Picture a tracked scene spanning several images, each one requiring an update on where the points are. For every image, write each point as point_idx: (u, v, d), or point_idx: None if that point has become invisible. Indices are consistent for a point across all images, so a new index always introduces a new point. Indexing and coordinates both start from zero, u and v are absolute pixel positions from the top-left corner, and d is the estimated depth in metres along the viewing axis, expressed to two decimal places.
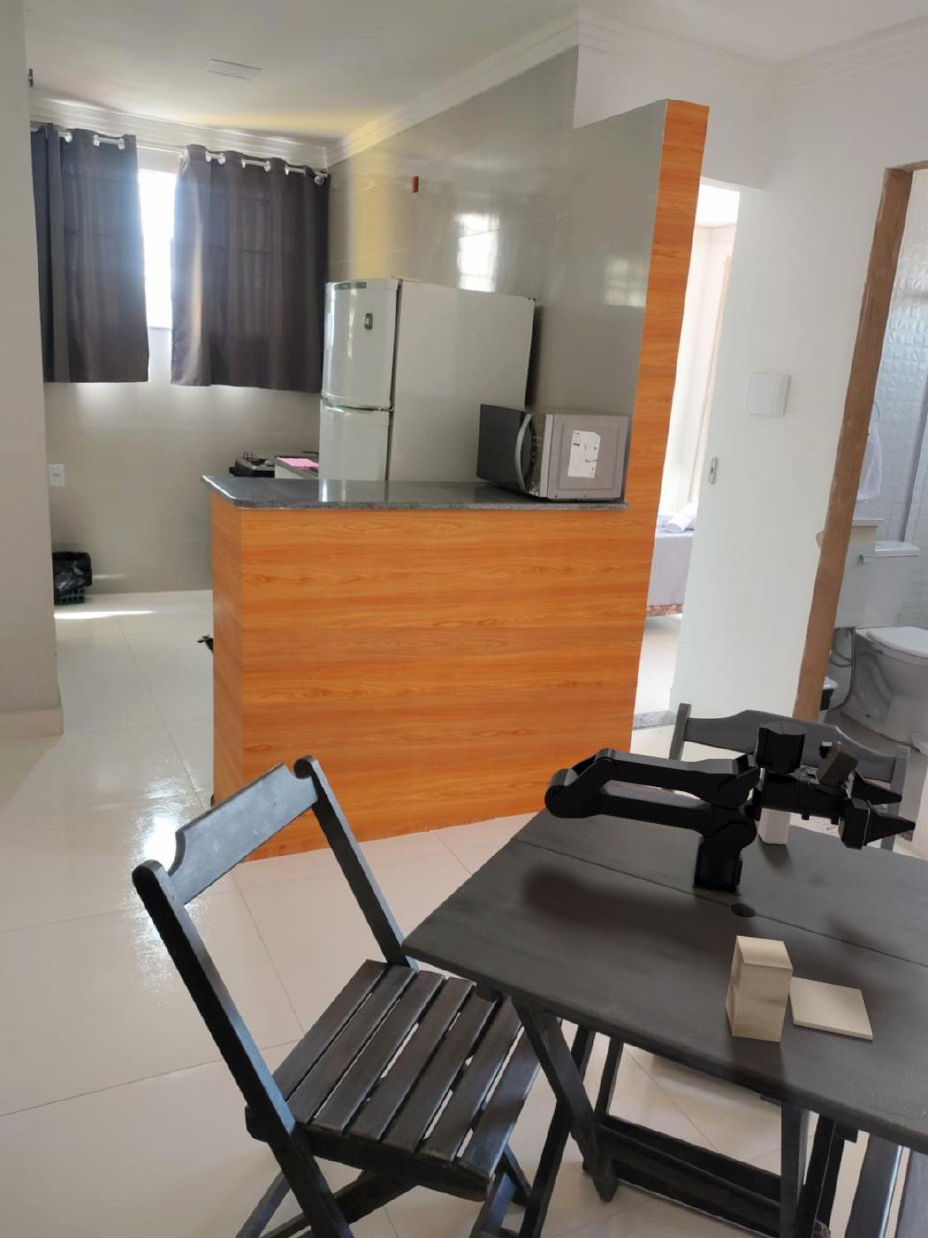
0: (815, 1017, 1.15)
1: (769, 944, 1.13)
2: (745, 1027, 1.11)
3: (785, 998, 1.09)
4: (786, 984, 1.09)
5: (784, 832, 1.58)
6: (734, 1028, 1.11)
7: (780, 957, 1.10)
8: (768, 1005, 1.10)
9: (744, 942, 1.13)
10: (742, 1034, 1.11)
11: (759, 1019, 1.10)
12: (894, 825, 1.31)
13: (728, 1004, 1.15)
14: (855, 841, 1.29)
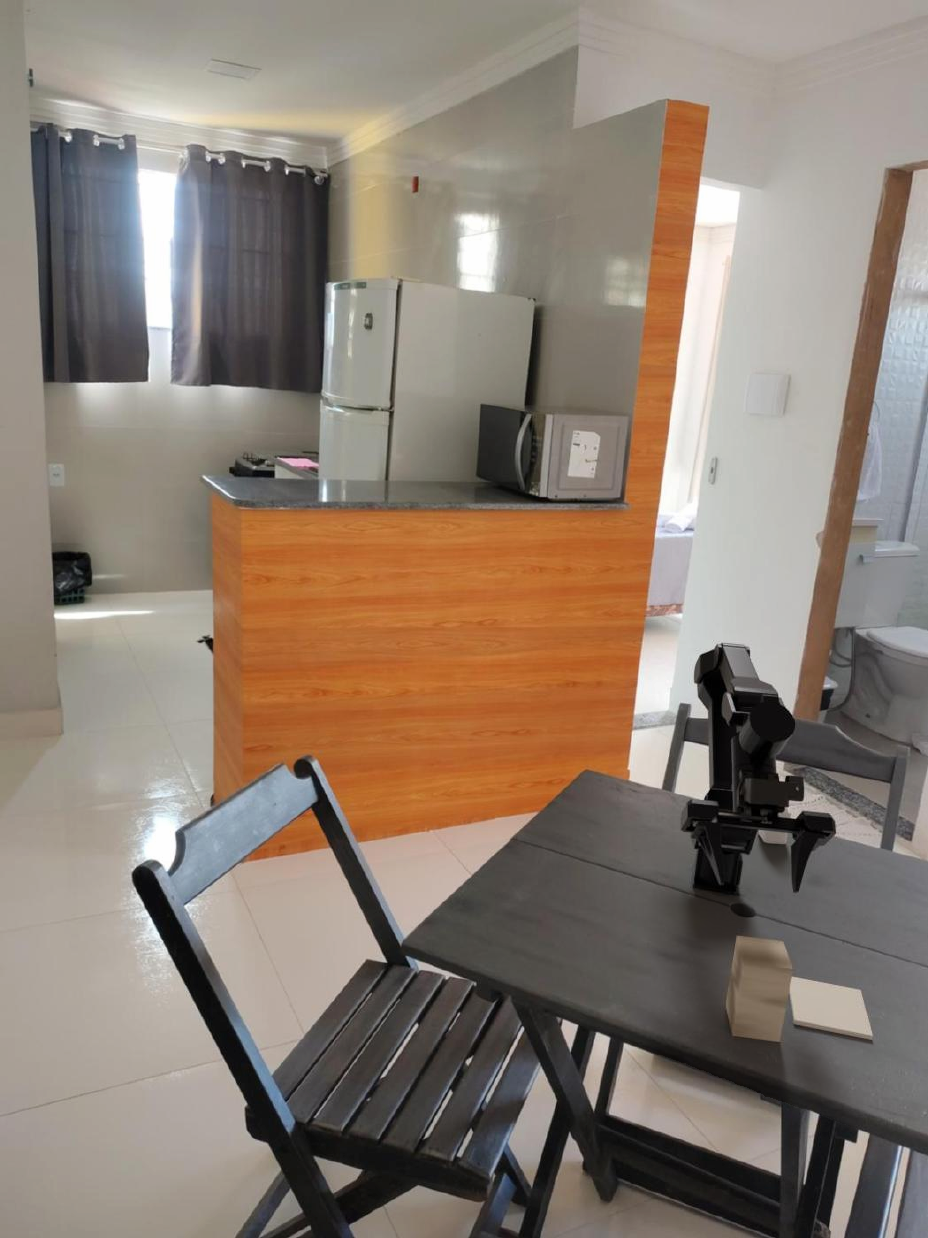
0: (815, 1017, 1.15)
1: (768, 944, 1.13)
2: (745, 1027, 1.11)
3: (785, 998, 1.09)
4: (786, 984, 1.09)
5: None
6: (734, 1028, 1.11)
7: (780, 957, 1.10)
8: (768, 1005, 1.10)
9: (744, 942, 1.13)
10: (742, 1034, 1.11)
11: (759, 1019, 1.10)
12: (713, 860, 1.20)
13: (728, 1004, 1.15)
14: (681, 820, 1.24)
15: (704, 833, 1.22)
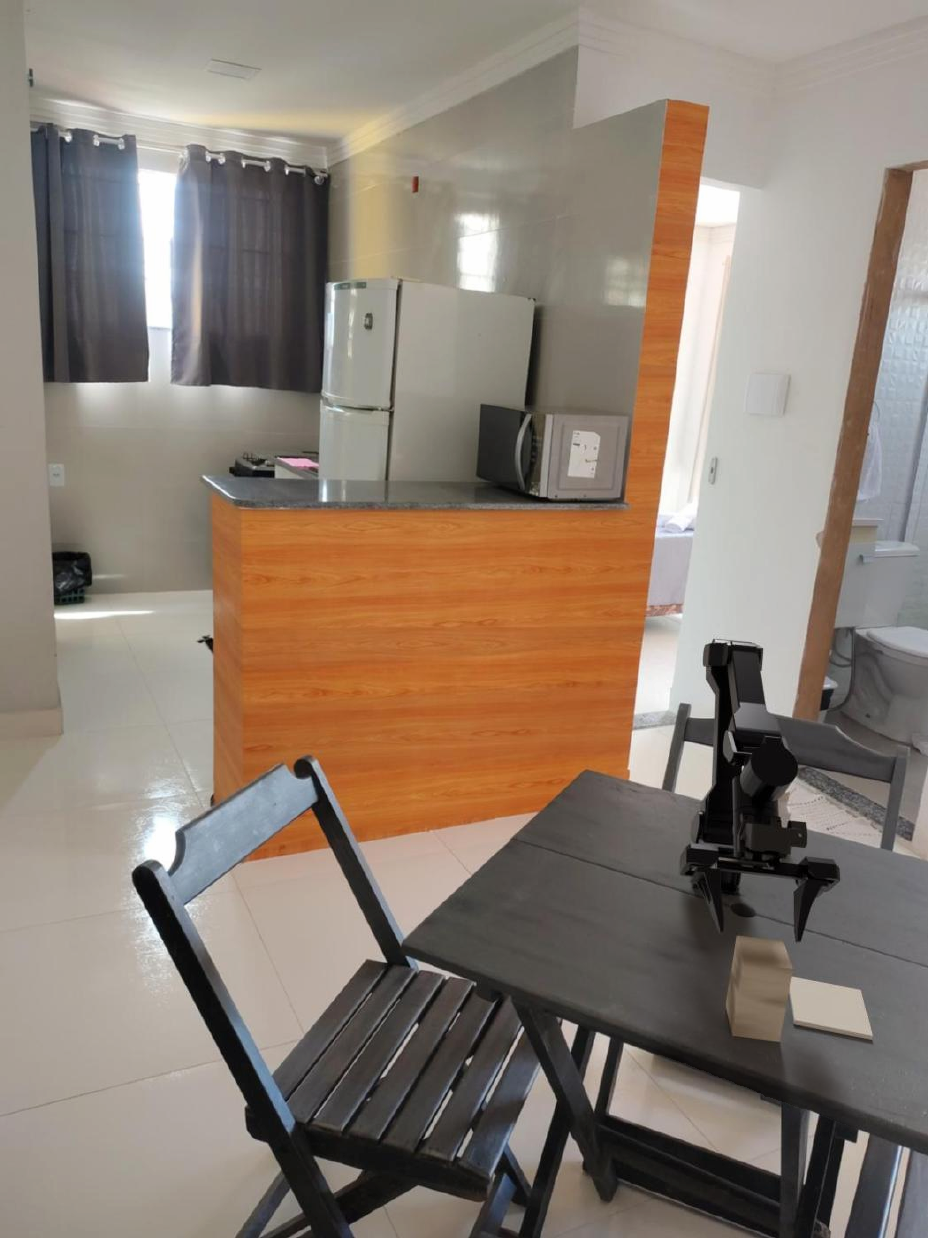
0: (815, 1017, 1.15)
1: (768, 944, 1.13)
2: (745, 1027, 1.11)
3: (785, 998, 1.09)
4: (786, 984, 1.09)
5: None
6: (734, 1028, 1.11)
7: (780, 957, 1.10)
8: (768, 1005, 1.10)
9: (744, 942, 1.13)
10: (742, 1034, 1.11)
11: (759, 1019, 1.10)
12: (712, 907, 1.16)
13: (728, 1004, 1.15)
14: (680, 864, 1.20)
15: (703, 878, 1.18)
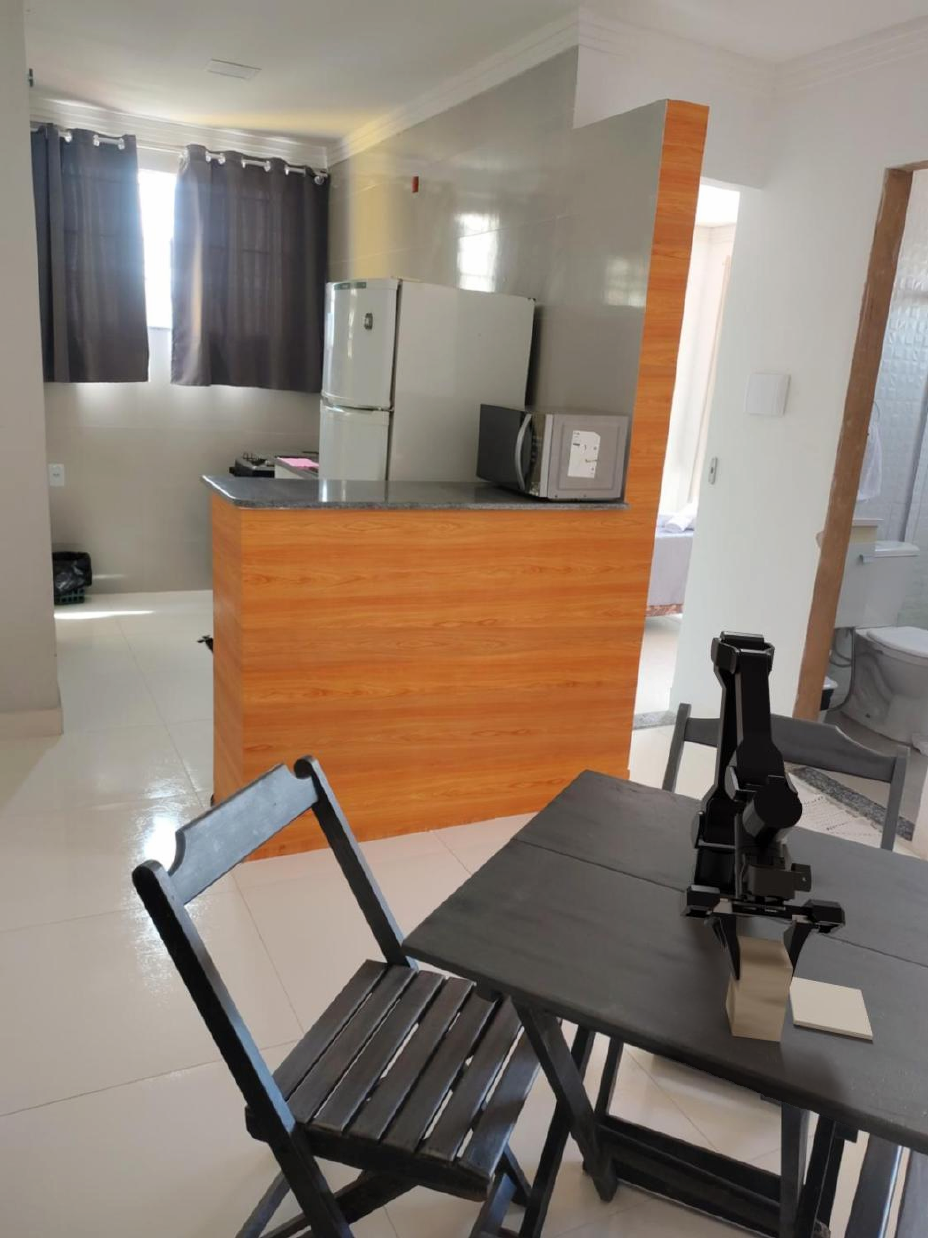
0: (815, 1017, 1.15)
1: (769, 944, 1.13)
2: (745, 1027, 1.11)
3: (785, 998, 1.09)
4: (786, 984, 1.09)
5: None
6: (734, 1028, 1.11)
7: (780, 957, 1.10)
8: (768, 1005, 1.10)
9: (744, 941, 1.13)
10: (742, 1034, 1.11)
11: (759, 1019, 1.10)
12: (727, 953, 1.12)
13: (728, 1004, 1.15)
14: (681, 906, 1.17)
15: (718, 923, 1.15)
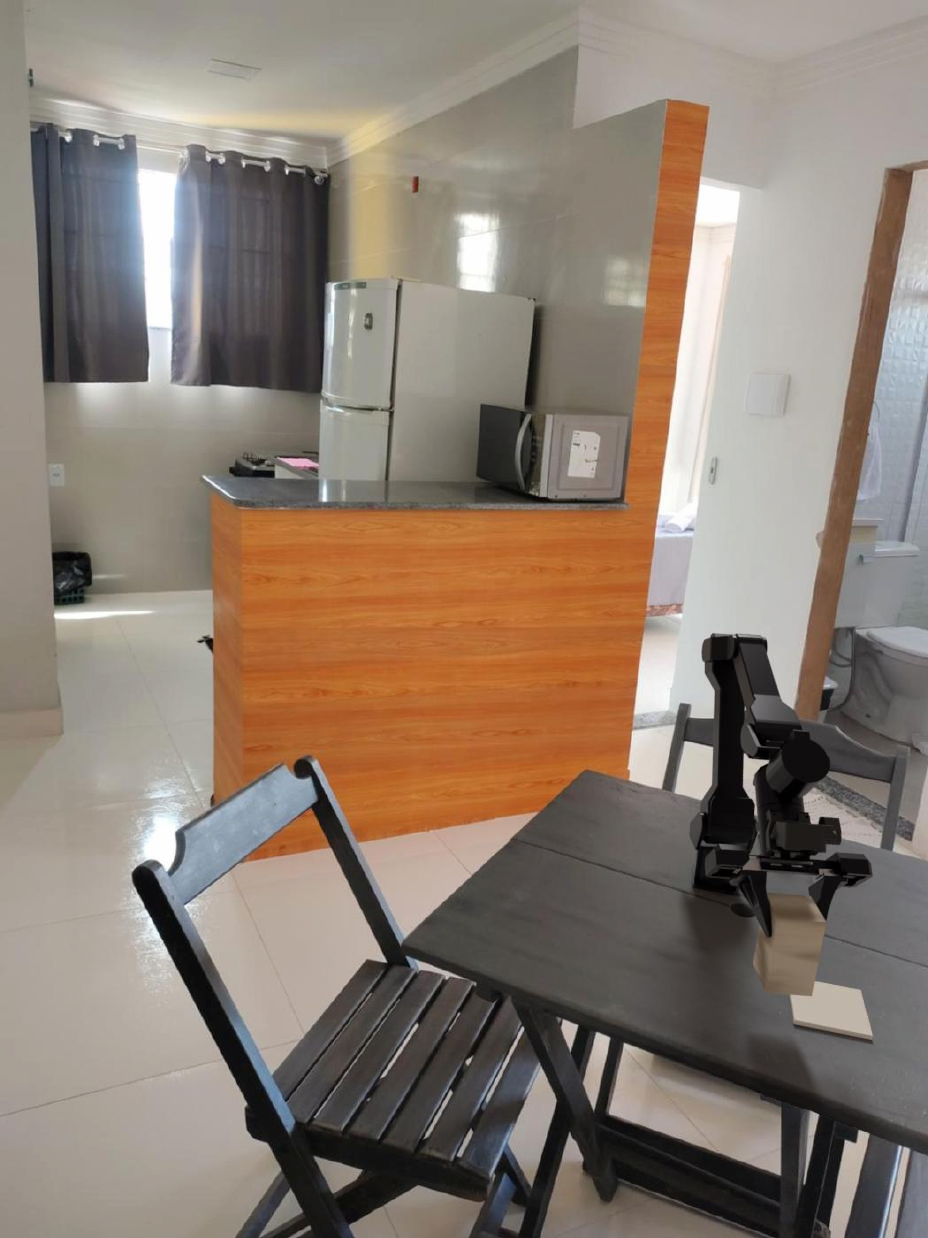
0: (815, 1017, 1.15)
1: (797, 899, 1.12)
2: (778, 984, 1.10)
3: (818, 952, 1.09)
4: (819, 938, 1.08)
5: None
6: (767, 985, 1.10)
7: (811, 911, 1.10)
8: (801, 960, 1.09)
9: (774, 898, 1.12)
10: (775, 991, 1.10)
11: (792, 975, 1.10)
12: (758, 911, 1.11)
13: (757, 962, 1.14)
14: (706, 866, 1.16)
15: (746, 881, 1.13)
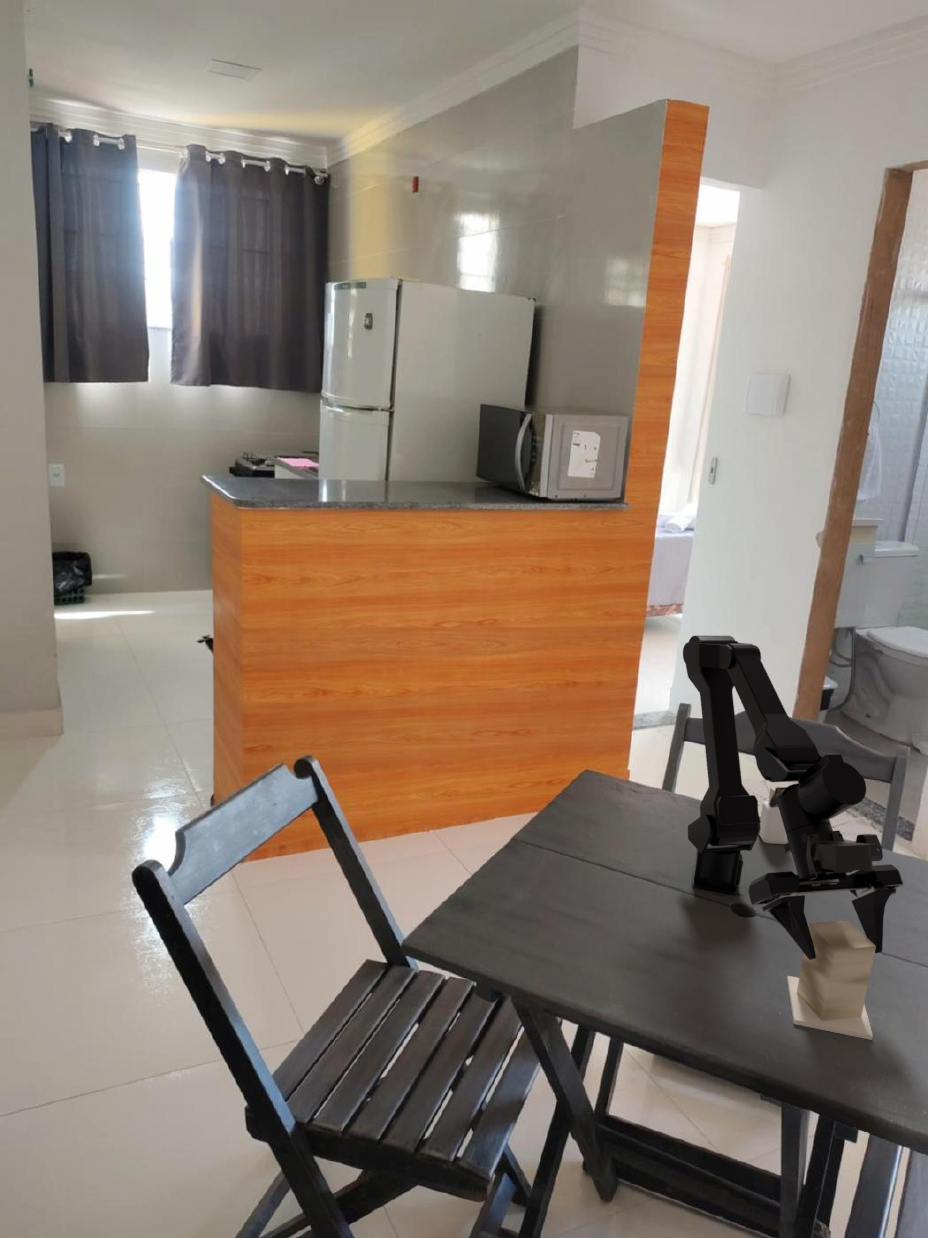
0: (815, 1017, 1.15)
1: (840, 926, 1.16)
2: (833, 1010, 1.14)
3: (868, 975, 1.14)
4: (869, 961, 1.13)
5: (784, 832, 1.58)
6: (823, 1014, 1.14)
7: (857, 937, 1.14)
8: (854, 984, 1.14)
9: (820, 928, 1.16)
10: (830, 1017, 1.14)
11: (845, 1000, 1.14)
12: (798, 935, 1.14)
13: (804, 991, 1.18)
14: (753, 895, 1.17)
15: (781, 906, 1.16)
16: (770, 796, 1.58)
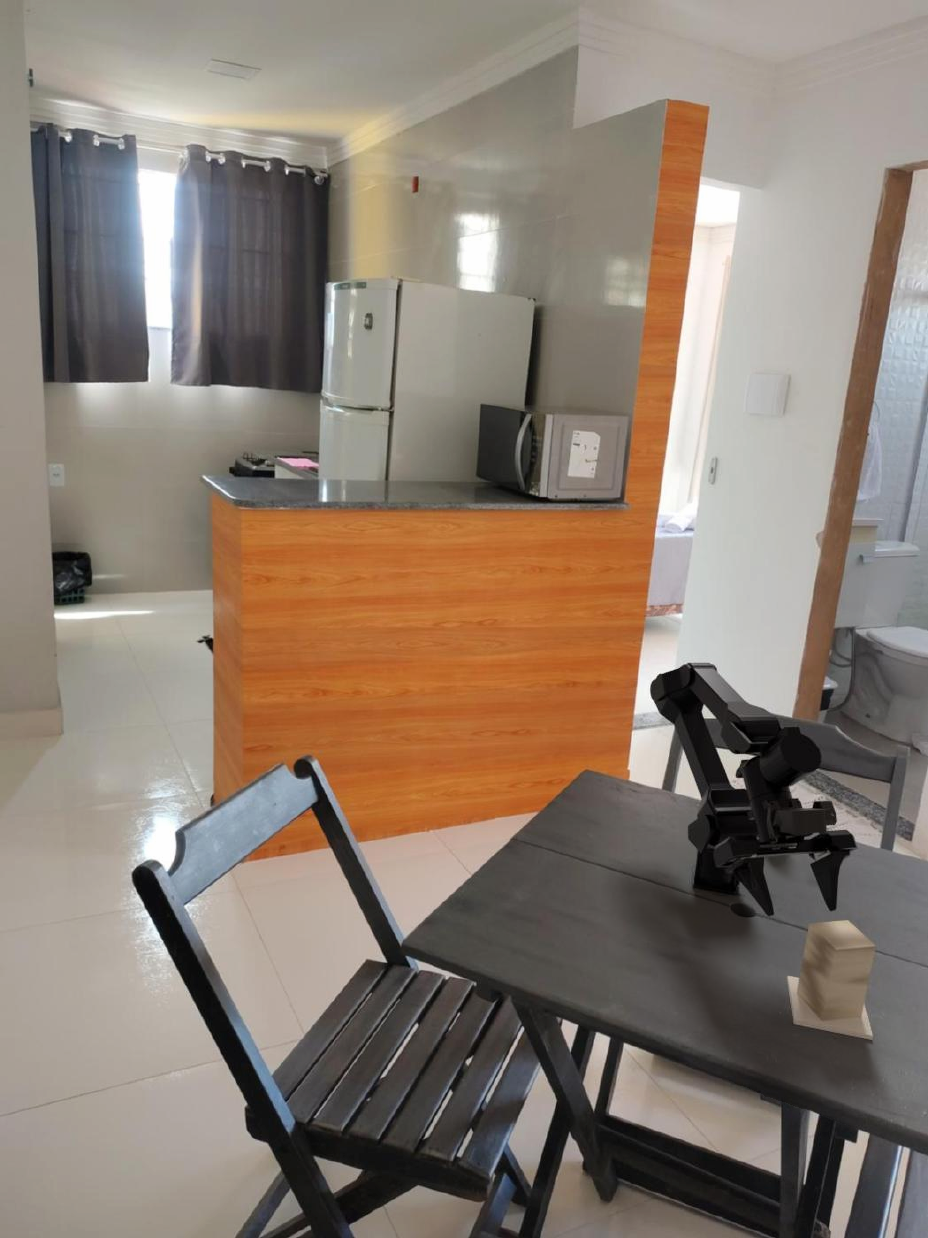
0: (815, 1017, 1.15)
1: (840, 926, 1.16)
2: (833, 1010, 1.14)
3: (868, 975, 1.14)
4: (869, 961, 1.13)
5: None
6: (823, 1014, 1.14)
7: (857, 937, 1.14)
8: (854, 984, 1.14)
9: (820, 928, 1.16)
10: (830, 1017, 1.14)
11: (845, 1000, 1.14)
12: (758, 893, 1.23)
13: (804, 991, 1.18)
14: (717, 857, 1.26)
15: (743, 867, 1.24)
16: None
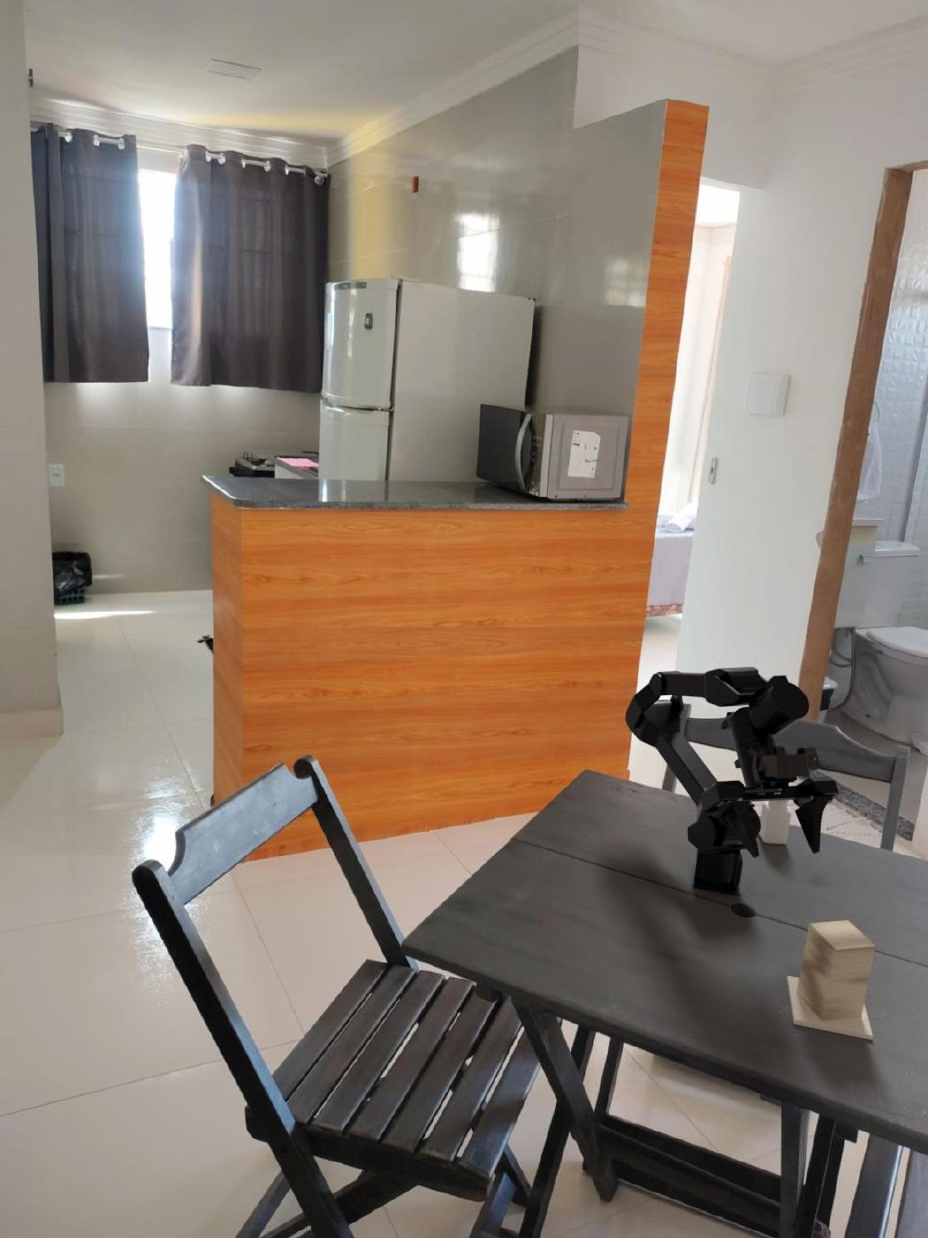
0: (815, 1017, 1.15)
1: (840, 926, 1.16)
2: (833, 1010, 1.14)
3: (868, 975, 1.14)
4: (869, 961, 1.13)
5: (784, 832, 1.58)
6: (823, 1014, 1.14)
7: (857, 937, 1.14)
8: (854, 984, 1.14)
9: (820, 928, 1.16)
10: (830, 1017, 1.14)
11: (845, 1000, 1.14)
12: (744, 836, 1.27)
13: (804, 991, 1.18)
14: (704, 802, 1.30)
15: (729, 811, 1.29)
16: None
